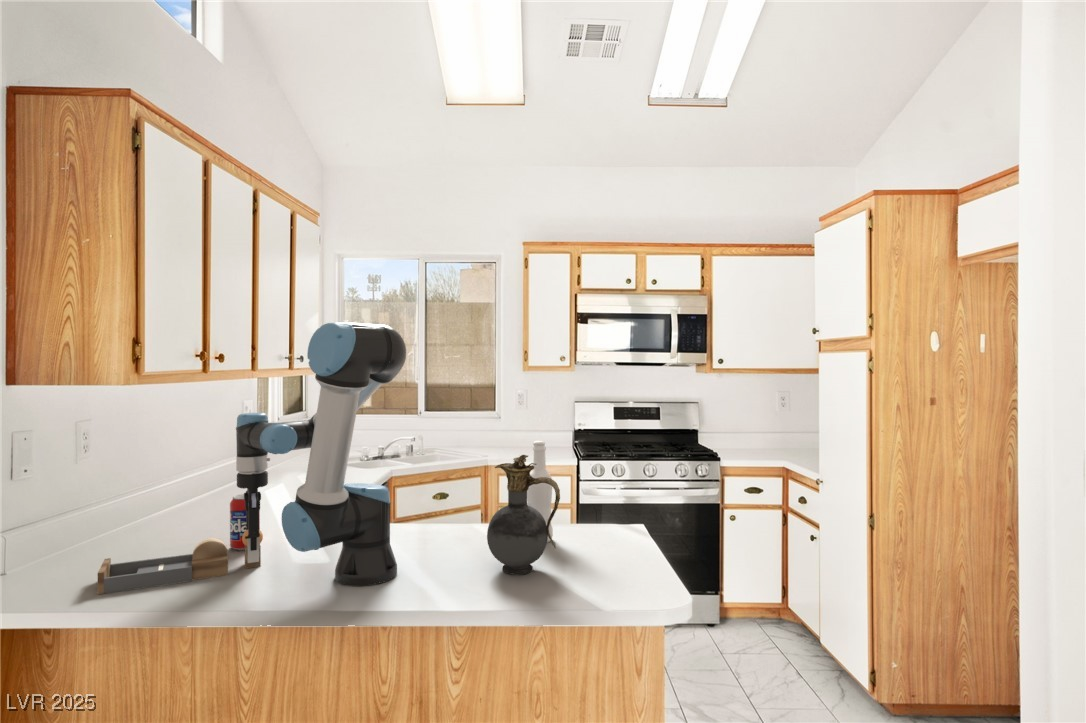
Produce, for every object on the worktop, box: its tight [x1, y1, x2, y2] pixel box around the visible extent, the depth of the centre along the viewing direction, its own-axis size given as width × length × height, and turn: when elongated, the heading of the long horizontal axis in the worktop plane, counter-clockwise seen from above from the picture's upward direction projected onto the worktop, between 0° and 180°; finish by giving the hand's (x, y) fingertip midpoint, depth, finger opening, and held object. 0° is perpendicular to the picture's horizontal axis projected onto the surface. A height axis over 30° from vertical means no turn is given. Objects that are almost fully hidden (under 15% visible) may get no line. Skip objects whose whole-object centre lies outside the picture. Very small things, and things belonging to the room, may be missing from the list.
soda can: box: [229, 493, 261, 551], centre depth 184 cm, size 8×8×15 cm
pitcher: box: [486, 454, 561, 575], centre depth 164 cm, size 11×19×30 cm, turn 76°
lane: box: [103, 553, 193, 595], centre depth 157 cm, size 12×18×4 cm, turn 118°
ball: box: [242, 529, 264, 547], centre depth 168 cm, size 5×5×5 cm
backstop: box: [97, 557, 112, 595], centre depth 153 cm, size 12×1×5 cm, turn 28°
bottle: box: [527, 440, 554, 544], centre depth 191 cm, size 8×8×30 cm
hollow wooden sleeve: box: [244, 543, 262, 569], centre depth 168 cm, size 4×4×5 cm
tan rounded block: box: [192, 537, 229, 581], centre depth 163 cm, size 10×8×8 cm
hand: (252, 558), depth 168 cm, fingers closed on ball, 5 cm apart
